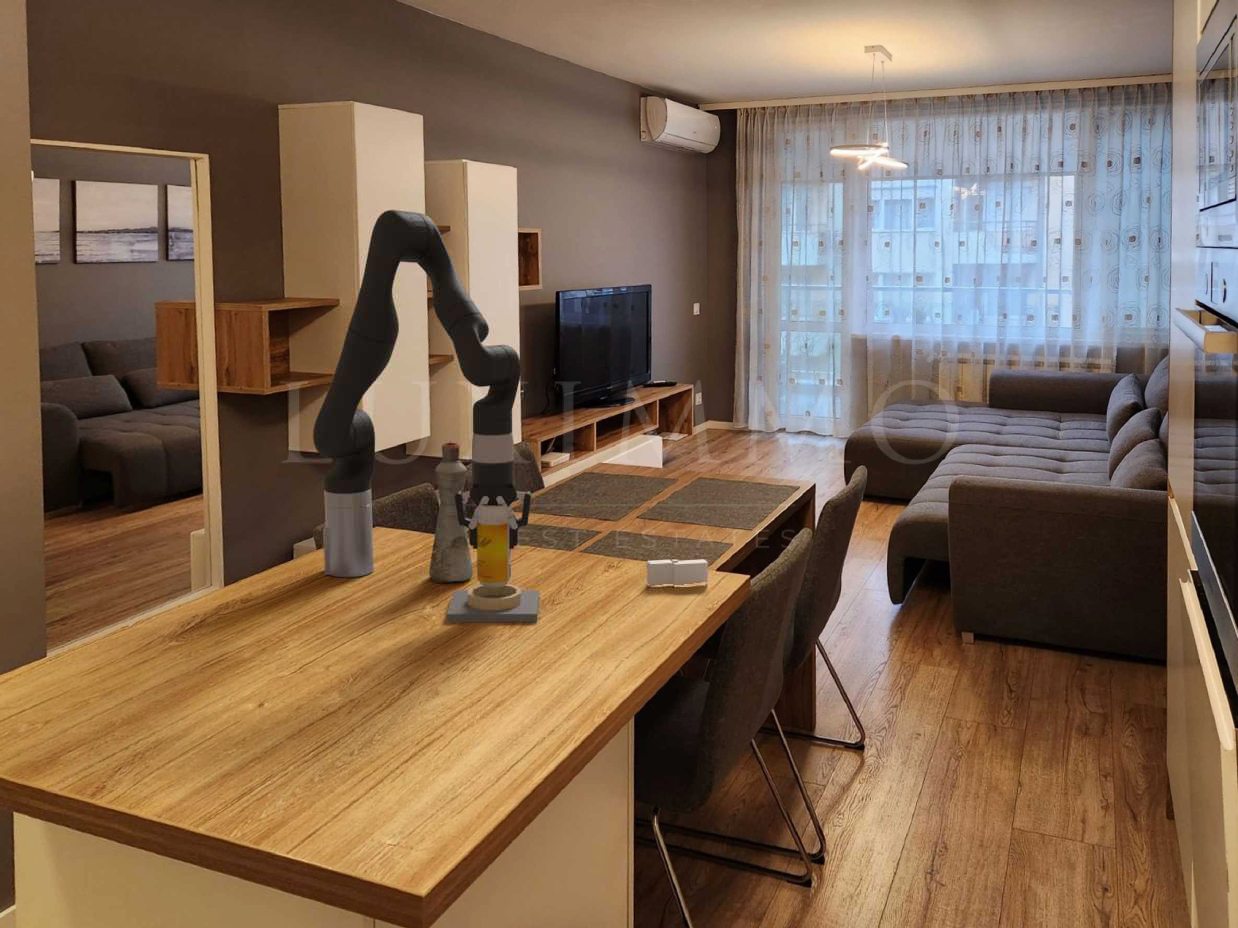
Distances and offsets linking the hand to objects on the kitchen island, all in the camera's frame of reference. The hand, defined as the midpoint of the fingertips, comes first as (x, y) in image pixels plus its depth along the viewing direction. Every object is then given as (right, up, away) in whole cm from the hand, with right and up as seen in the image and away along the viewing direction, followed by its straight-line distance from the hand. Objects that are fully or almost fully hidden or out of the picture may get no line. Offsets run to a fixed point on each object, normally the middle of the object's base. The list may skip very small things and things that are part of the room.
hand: (493, 547), depth 202 cm
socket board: (0, -12, +2) cm, 12 cm away
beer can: (0, -7, +1) cm, 7 cm away
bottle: (-11, -8, +21) cm, 25 cm away
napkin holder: (+34, -9, +19) cm, 40 cm away
